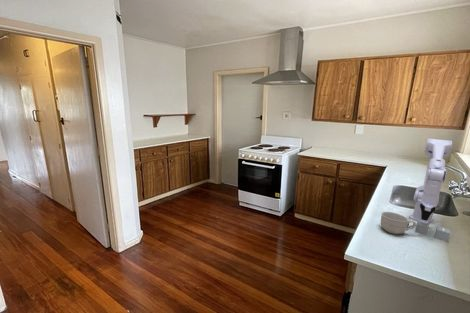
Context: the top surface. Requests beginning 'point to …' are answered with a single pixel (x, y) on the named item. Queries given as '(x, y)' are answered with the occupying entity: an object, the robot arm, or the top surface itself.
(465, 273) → the top surface
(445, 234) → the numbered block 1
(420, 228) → the plain block
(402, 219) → the teacup
